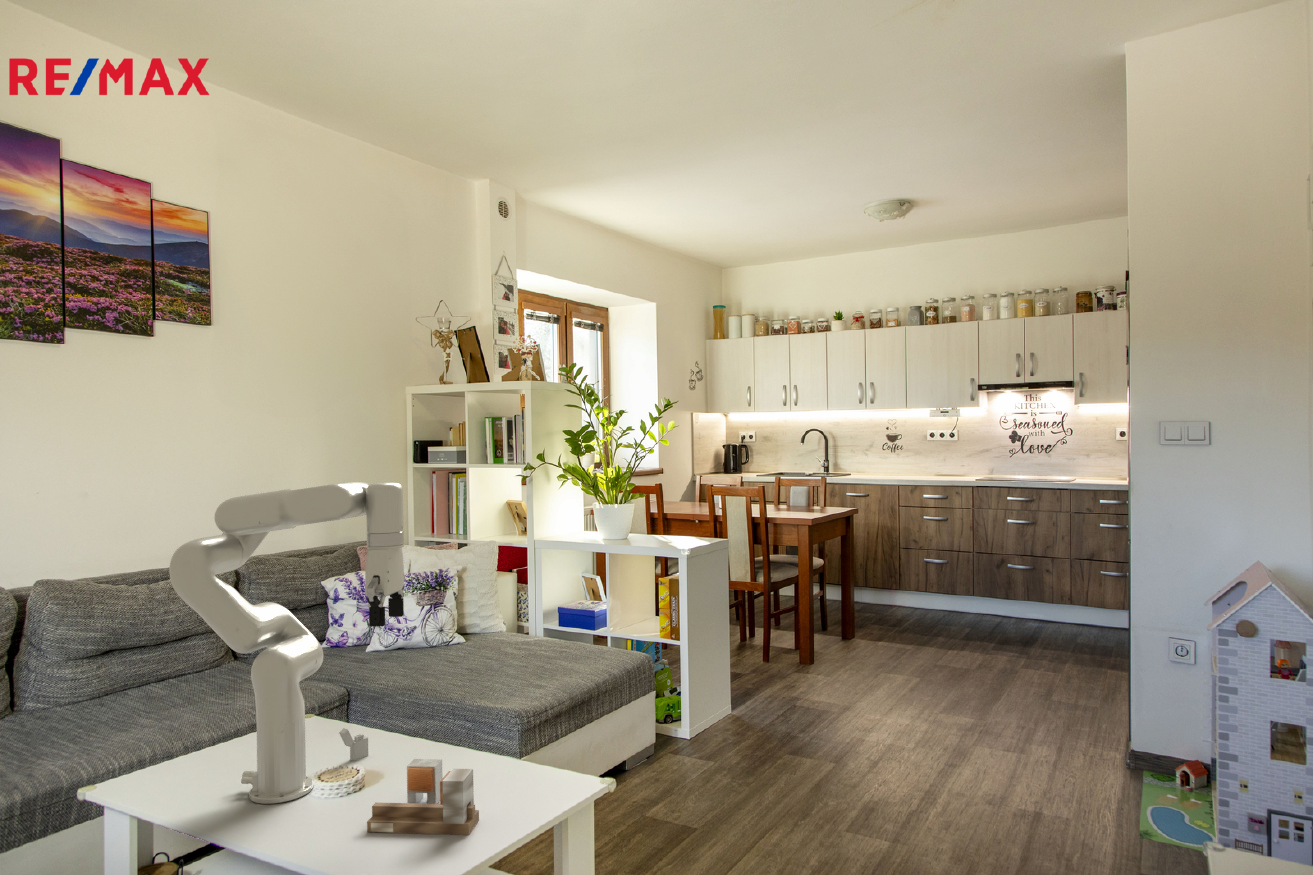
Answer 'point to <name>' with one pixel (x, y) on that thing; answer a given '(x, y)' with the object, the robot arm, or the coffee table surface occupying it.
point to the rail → (432, 810)
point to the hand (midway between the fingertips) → (387, 621)
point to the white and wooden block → (424, 780)
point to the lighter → (355, 744)
